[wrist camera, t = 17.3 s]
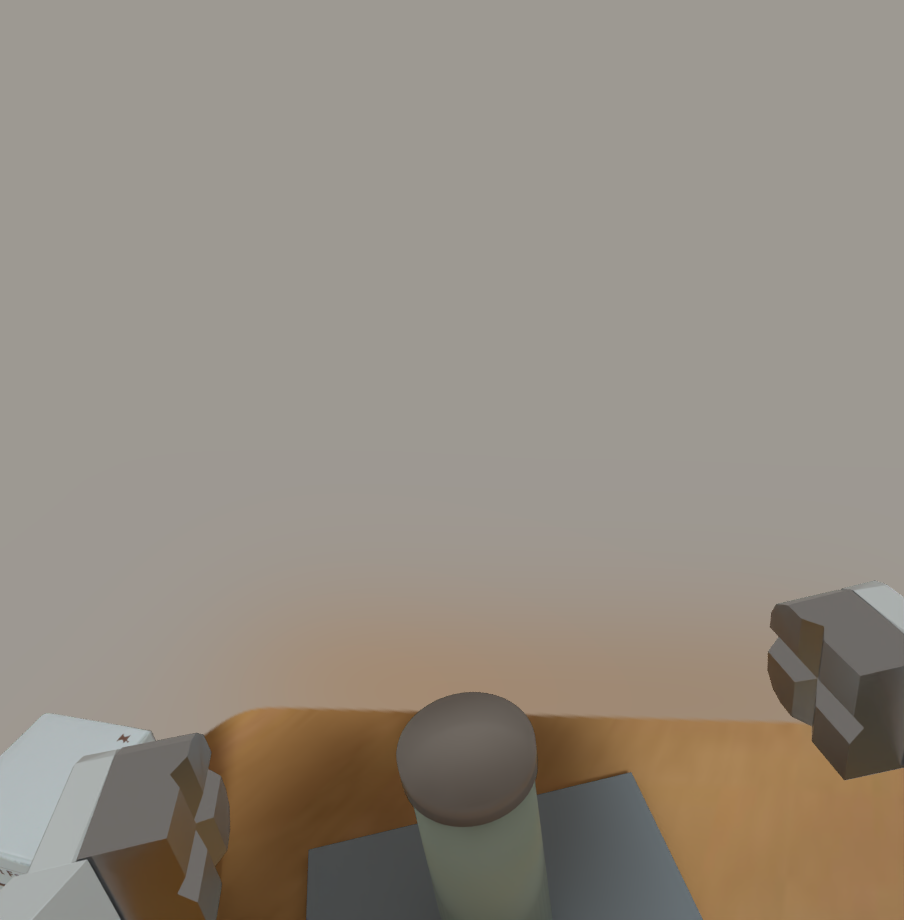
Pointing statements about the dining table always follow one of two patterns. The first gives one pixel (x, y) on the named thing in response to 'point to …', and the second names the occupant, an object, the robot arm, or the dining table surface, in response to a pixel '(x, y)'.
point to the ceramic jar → (477, 807)
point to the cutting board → (566, 857)
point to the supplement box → (46, 779)
